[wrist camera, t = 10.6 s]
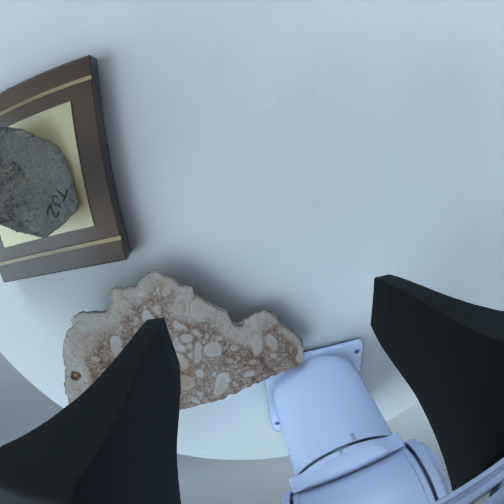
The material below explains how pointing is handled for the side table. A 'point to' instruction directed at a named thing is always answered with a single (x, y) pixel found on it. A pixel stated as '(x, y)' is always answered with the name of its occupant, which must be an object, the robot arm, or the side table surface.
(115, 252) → the plaque
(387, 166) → the side table surface
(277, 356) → the rock
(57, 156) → the rock
